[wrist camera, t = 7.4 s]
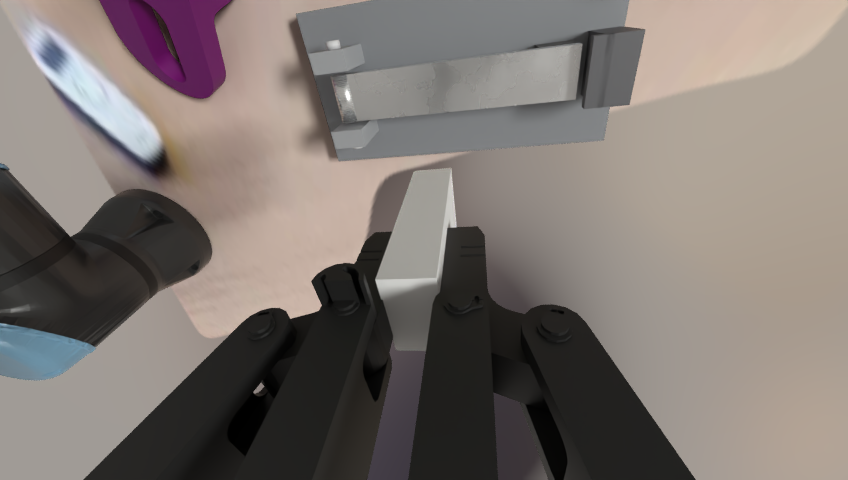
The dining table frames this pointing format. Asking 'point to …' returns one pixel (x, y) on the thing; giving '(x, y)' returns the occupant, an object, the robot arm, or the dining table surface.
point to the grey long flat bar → (460, 84)
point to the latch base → (466, 37)
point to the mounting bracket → (191, 34)
